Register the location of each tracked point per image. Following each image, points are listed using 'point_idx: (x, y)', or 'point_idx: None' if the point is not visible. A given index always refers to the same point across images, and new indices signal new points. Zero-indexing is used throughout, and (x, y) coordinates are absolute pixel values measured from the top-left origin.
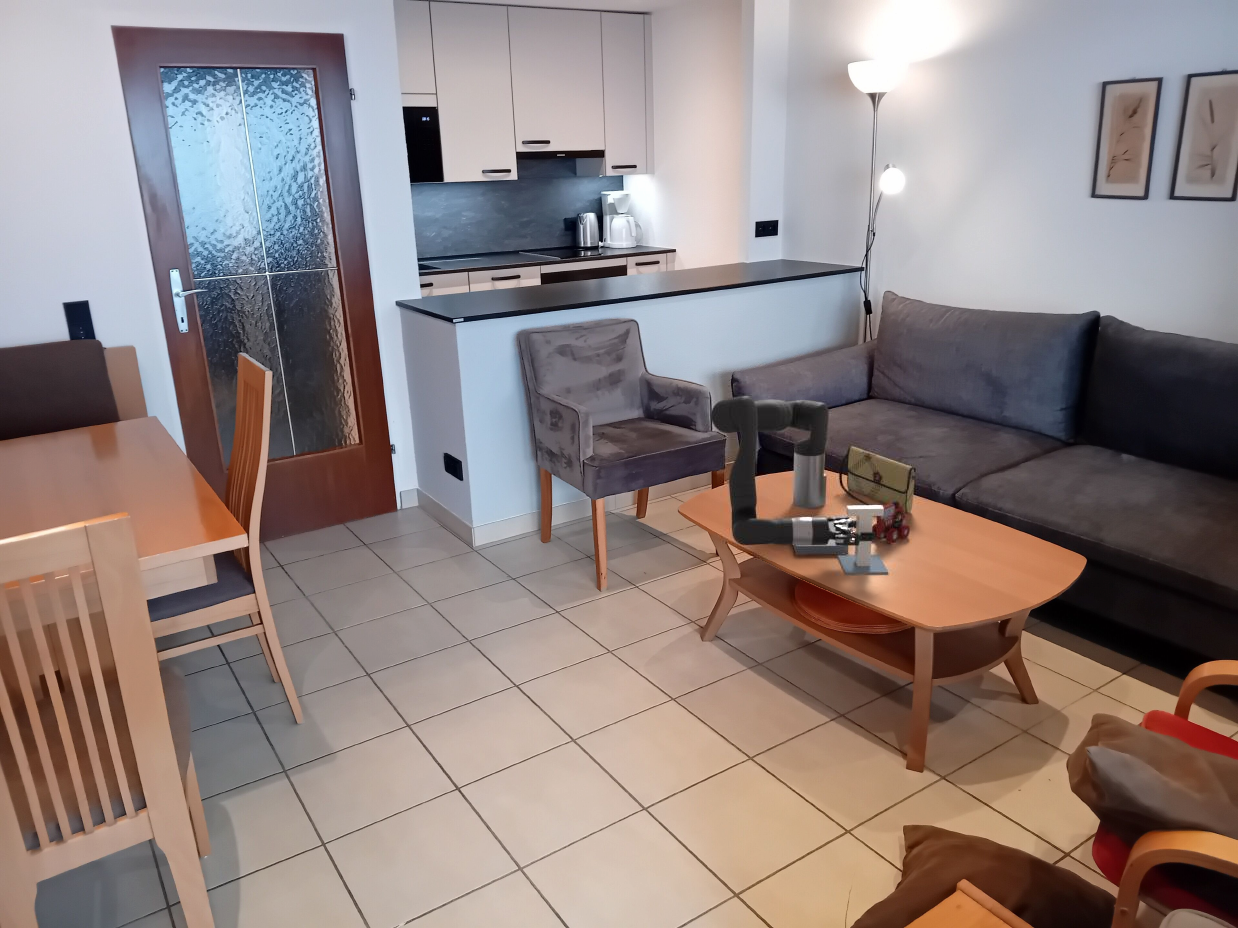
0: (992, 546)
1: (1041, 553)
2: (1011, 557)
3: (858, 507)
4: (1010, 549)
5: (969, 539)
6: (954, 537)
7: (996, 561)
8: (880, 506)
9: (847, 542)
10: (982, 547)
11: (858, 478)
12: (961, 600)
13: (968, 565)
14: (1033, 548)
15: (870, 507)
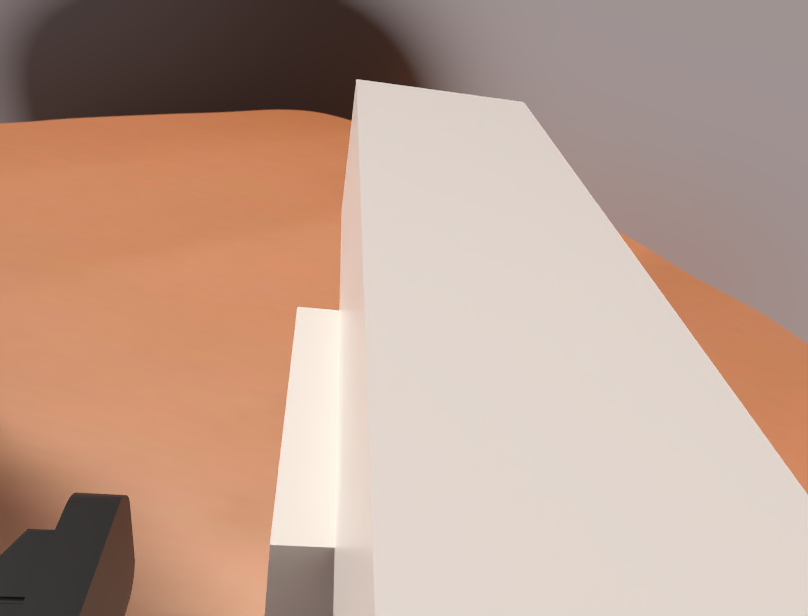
0: (173, 182)
1: (268, 134)
2: (289, 180)
3: (581, 362)
4: (217, 163)
5: (67, 203)
6: (13, 228)
7: (322, 213)
8: (425, 99)
9: None
10: (172, 201)
11: None
12: (759, 400)
13: None
14: (223, 132)
15: (507, 183)
